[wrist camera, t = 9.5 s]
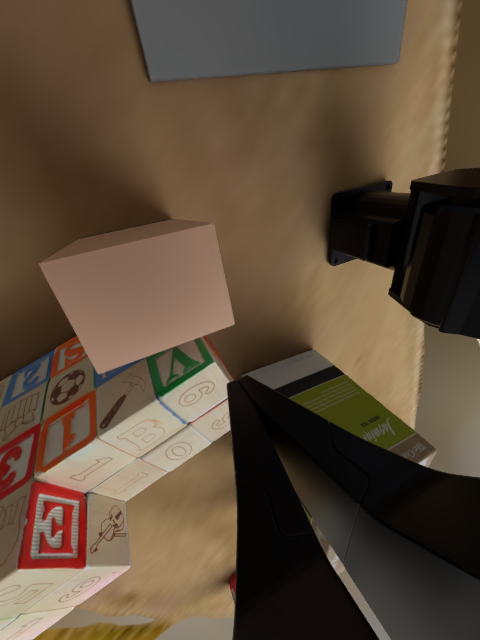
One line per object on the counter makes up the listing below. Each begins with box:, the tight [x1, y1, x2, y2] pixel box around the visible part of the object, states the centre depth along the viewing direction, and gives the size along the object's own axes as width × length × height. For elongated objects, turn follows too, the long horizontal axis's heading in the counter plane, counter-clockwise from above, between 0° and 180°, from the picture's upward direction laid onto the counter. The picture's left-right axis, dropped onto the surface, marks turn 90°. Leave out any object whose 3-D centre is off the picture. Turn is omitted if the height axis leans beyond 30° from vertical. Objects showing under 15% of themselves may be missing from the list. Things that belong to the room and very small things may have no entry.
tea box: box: [241, 350, 437, 574], centre depth 26 cm, size 15×10×15 cm, turn 4°
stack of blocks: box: [0, 335, 233, 640], centre depth 15 cm, size 21×6×12 cm, turn 114°
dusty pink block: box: [38, 219, 235, 374], centre depth 14 cm, size 4×6×9 cm
